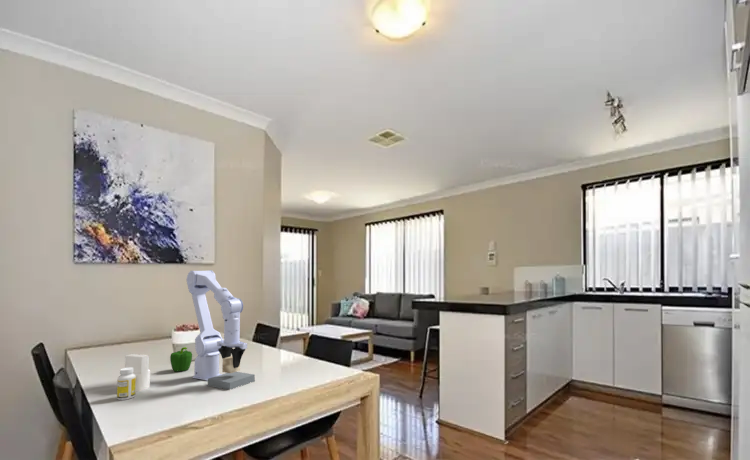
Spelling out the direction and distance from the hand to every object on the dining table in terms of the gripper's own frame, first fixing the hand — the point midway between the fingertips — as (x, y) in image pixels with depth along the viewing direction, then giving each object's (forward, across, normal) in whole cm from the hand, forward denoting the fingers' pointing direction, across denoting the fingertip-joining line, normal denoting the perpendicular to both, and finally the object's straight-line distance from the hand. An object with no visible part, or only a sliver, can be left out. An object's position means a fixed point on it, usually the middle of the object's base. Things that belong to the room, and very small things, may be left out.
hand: (231, 366), depth 153 cm
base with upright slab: (+6, -28, -20) cm, 35 cm away
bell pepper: (+6, -36, +4) cm, 37 cm away
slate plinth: (+6, 0, 0) cm, 6 cm away
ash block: (+2, 0, 0) cm, 2 cm away
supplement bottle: (+6, -20, -28) cm, 35 cm away
